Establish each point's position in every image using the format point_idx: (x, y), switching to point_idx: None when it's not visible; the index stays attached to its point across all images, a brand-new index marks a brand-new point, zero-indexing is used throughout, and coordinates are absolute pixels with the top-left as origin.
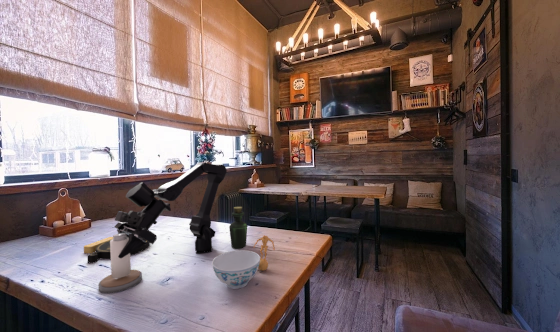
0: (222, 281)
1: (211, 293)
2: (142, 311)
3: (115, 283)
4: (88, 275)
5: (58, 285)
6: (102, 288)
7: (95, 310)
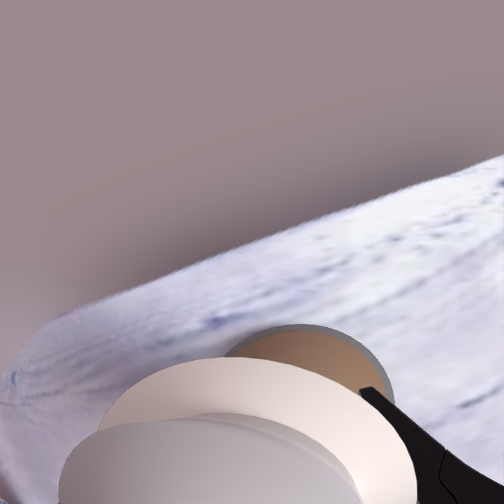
0: (3, 500)
1: (27, 489)
2: (56, 375)
3: None
4: (493, 299)
5: (459, 212)
6: (257, 333)
7: (149, 295)
